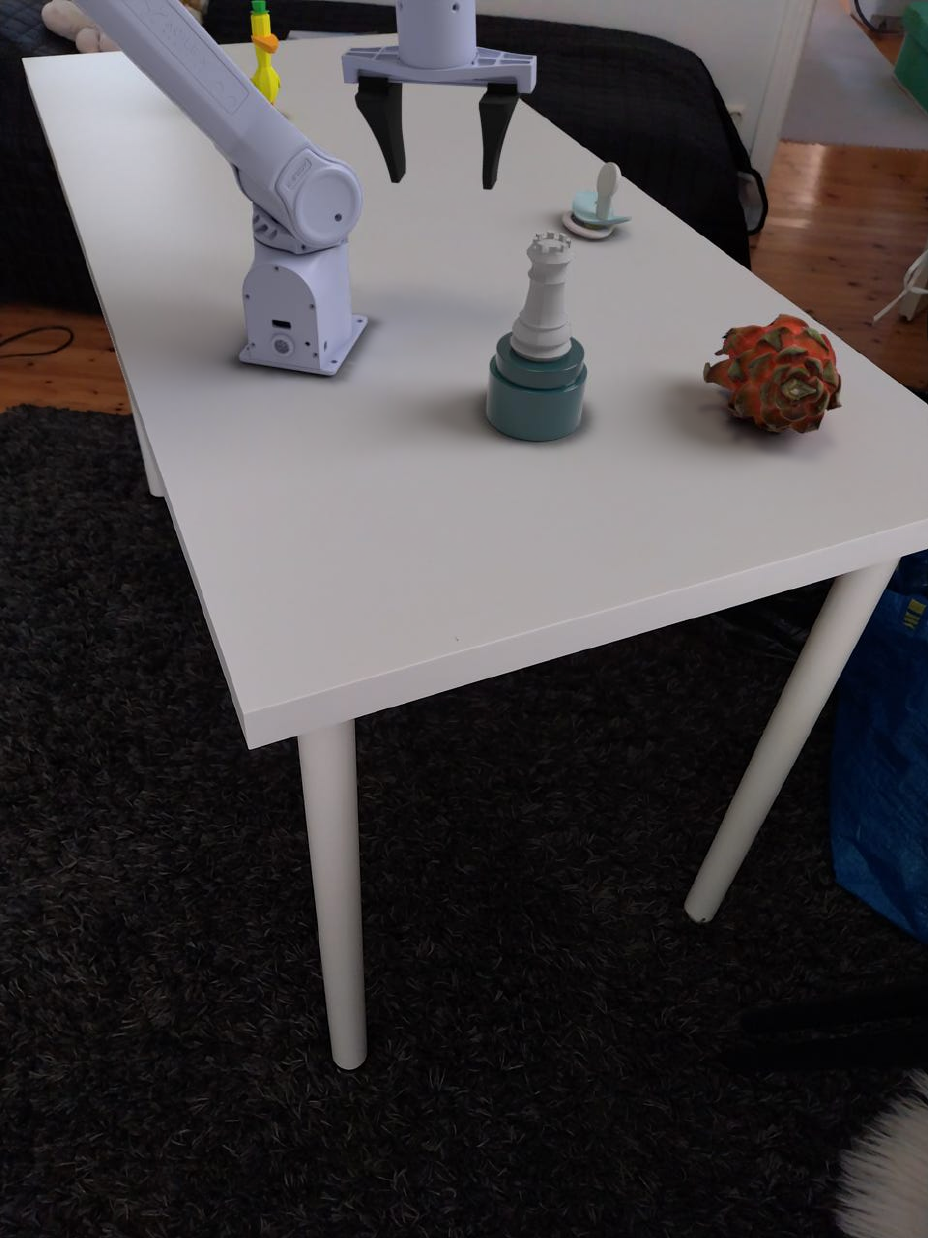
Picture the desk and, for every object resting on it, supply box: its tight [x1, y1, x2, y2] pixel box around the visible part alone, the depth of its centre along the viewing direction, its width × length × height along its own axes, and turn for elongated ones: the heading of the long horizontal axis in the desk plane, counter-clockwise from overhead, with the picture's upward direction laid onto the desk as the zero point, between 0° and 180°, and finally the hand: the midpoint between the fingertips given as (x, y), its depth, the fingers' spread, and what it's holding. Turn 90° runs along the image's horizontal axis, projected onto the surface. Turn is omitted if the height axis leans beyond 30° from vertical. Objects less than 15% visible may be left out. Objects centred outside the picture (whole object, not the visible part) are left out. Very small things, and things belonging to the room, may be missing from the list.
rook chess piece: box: [510, 230, 576, 362], centre depth 67 cm, size 4×4×8 cm
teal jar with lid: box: [485, 330, 588, 442], centre depth 71 cm, size 7×7×6 cm
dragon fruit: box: [702, 313, 843, 435], centre depth 72 cm, size 8×8×12 cm
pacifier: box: [561, 161, 633, 239], centre depth 96 cm, size 7×6×6 cm
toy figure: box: [249, 0, 282, 108], centre depth 113 cm, size 7×4×12 cm, turn 27°
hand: (443, 181), depth 78 cm, fingers open, 7 cm apart
